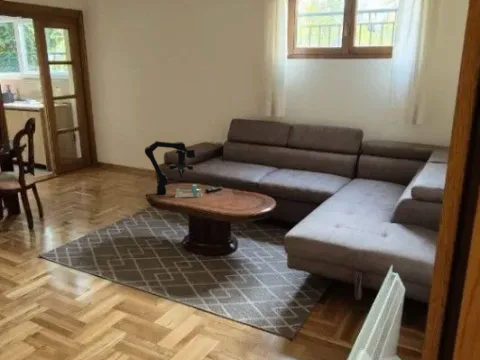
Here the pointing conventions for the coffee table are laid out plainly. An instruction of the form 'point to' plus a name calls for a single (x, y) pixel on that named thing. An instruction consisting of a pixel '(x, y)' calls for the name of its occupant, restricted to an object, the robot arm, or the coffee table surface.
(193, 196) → the pipe rig
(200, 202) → the coffee table surface
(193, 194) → the collar
